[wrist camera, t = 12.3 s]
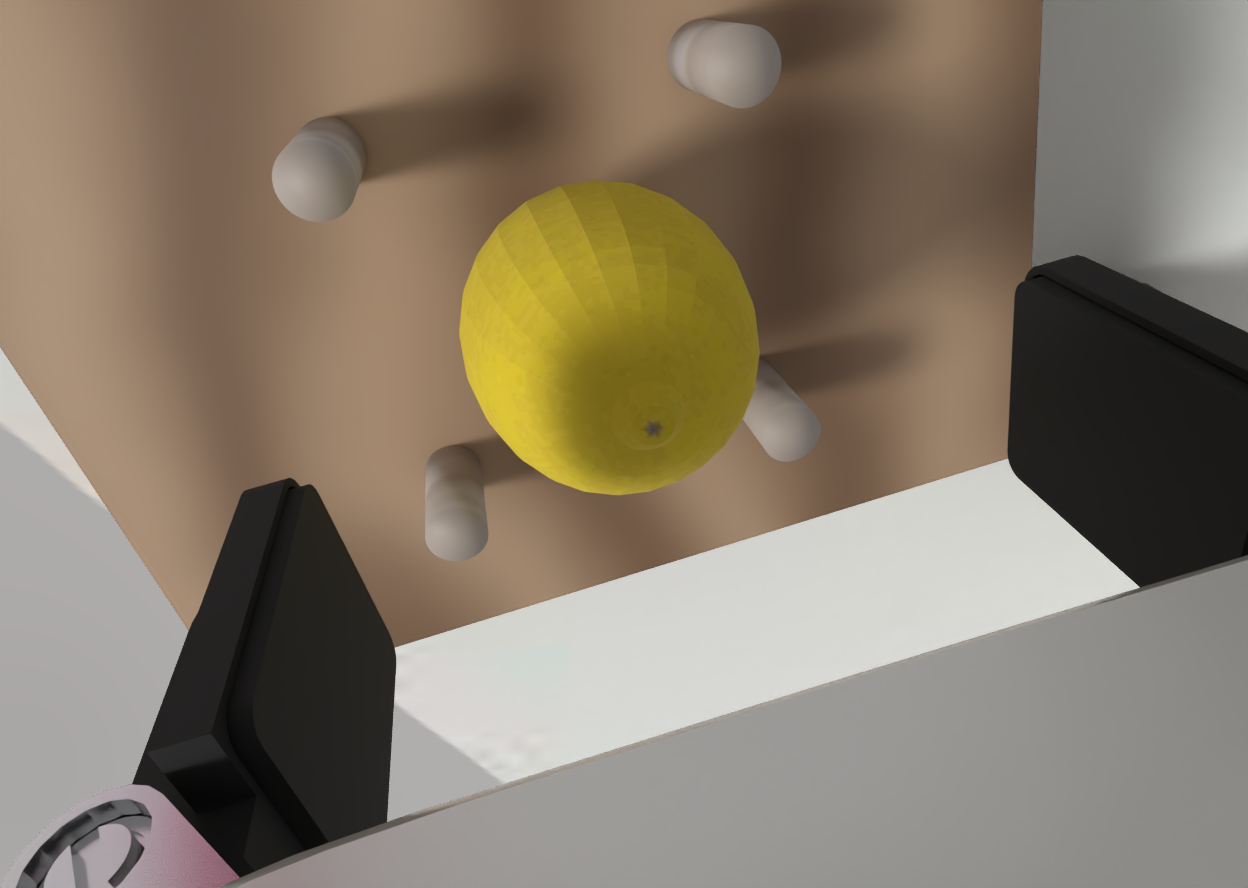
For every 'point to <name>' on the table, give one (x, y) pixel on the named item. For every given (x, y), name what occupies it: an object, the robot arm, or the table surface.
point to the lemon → (609, 337)
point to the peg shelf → (457, 230)
